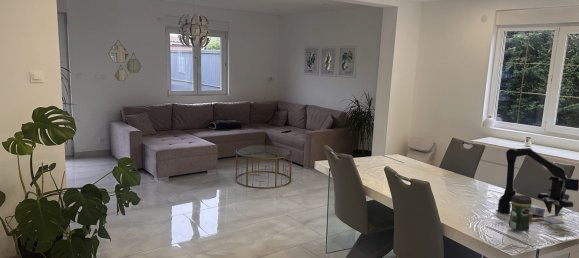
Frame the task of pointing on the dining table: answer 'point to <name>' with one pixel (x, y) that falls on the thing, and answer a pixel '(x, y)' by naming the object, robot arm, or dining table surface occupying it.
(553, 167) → the robot arm
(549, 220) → the pad
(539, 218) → the shelf bay
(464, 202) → the dining table surface
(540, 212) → the medicine box
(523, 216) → the coffee jar
